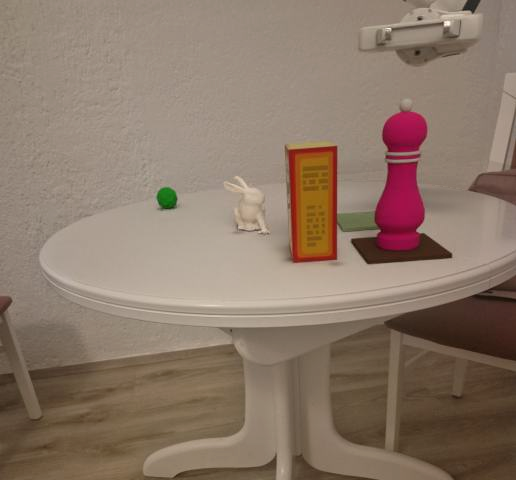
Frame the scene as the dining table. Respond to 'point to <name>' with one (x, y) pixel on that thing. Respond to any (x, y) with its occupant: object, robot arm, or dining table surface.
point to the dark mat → (422, 252)
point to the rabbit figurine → (248, 206)
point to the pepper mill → (401, 181)
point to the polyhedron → (167, 198)
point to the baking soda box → (312, 200)
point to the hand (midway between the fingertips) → (416, 30)
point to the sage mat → (357, 221)
